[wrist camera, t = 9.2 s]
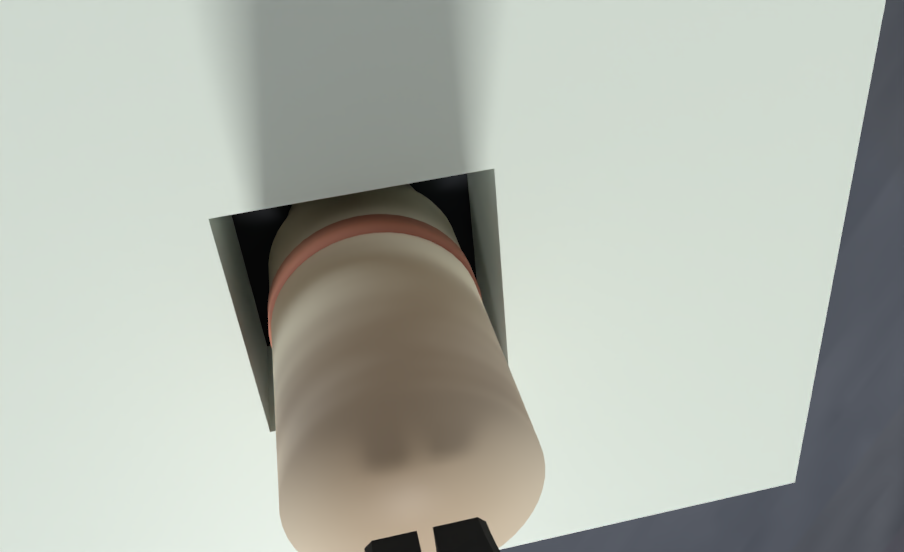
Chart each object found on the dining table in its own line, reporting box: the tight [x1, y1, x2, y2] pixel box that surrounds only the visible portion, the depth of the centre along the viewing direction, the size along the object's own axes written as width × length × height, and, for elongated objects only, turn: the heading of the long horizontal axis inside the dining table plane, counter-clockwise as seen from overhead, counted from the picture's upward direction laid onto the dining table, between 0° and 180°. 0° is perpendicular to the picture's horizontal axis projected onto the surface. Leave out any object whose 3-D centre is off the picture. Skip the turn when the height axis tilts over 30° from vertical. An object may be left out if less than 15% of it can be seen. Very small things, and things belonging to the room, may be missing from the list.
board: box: [0, 0, 886, 552], centre depth 18 cm, size 20×16×3 cm
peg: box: [268, 184, 545, 552], centre depth 16 cm, size 4×4×8 cm
